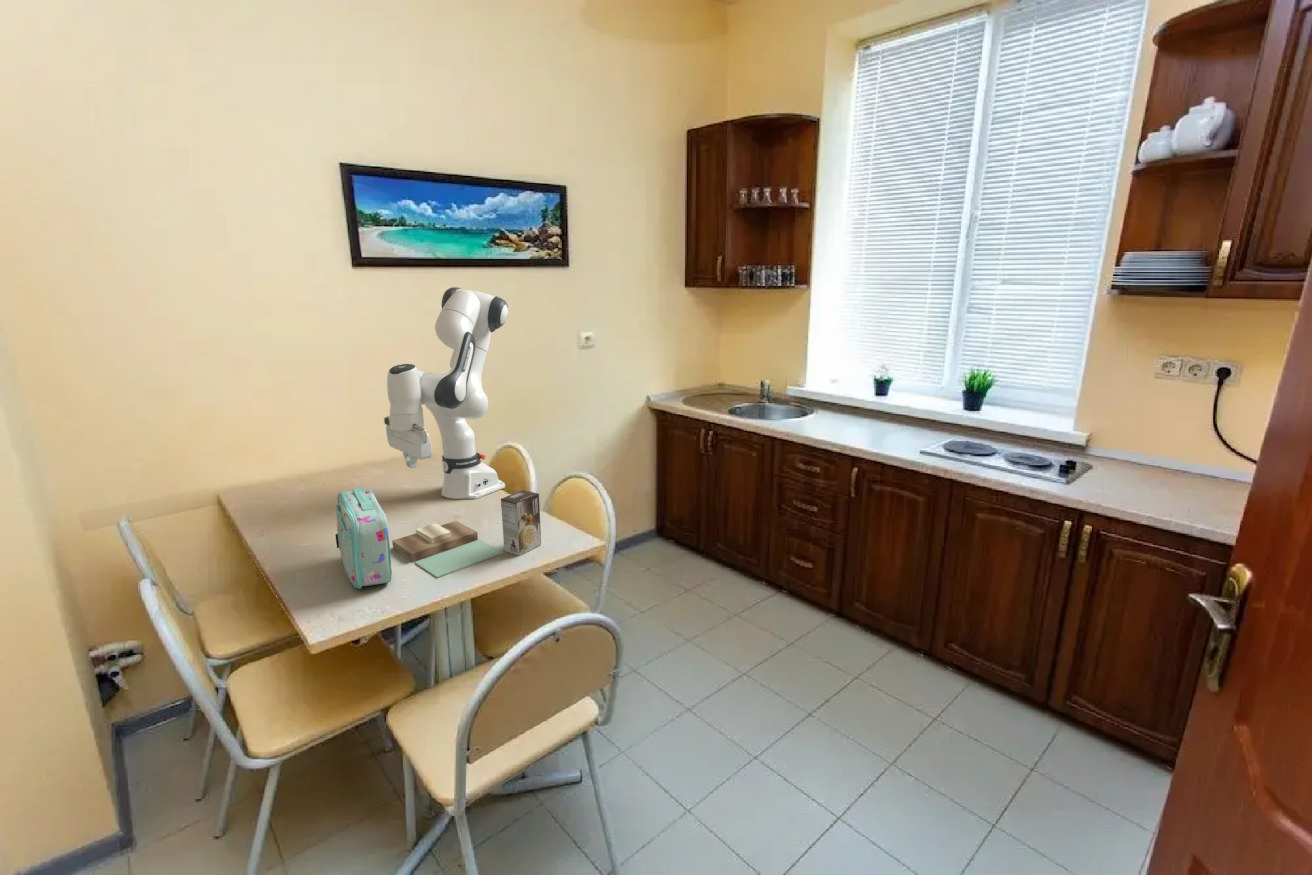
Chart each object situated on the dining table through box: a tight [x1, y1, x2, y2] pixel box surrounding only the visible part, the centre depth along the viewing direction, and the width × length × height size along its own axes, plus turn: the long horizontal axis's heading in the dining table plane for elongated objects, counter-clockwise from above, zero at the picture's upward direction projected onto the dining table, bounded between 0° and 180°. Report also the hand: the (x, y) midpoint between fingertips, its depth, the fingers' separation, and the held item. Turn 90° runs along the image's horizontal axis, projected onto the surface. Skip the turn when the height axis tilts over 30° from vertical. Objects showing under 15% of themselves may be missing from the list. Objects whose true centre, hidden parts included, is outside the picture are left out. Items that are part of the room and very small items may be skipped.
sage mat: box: [414, 539, 504, 579], centre depth 167 cm, size 20×12×1 cm, turn 138°
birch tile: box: [415, 522, 451, 543], centre depth 176 cm, size 6×9×2 cm, turn 48°
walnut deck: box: [391, 520, 479, 563], centre depth 175 cm, size 20×12×2 cm, turn 138°
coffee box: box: [500, 489, 542, 557], centre depth 172 cm, size 9×6×16 cm
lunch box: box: [334, 487, 393, 589], centre depth 157 cm, size 27×10×21 cm, turn 35°
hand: (411, 467), depth 177 cm, fingers closed
